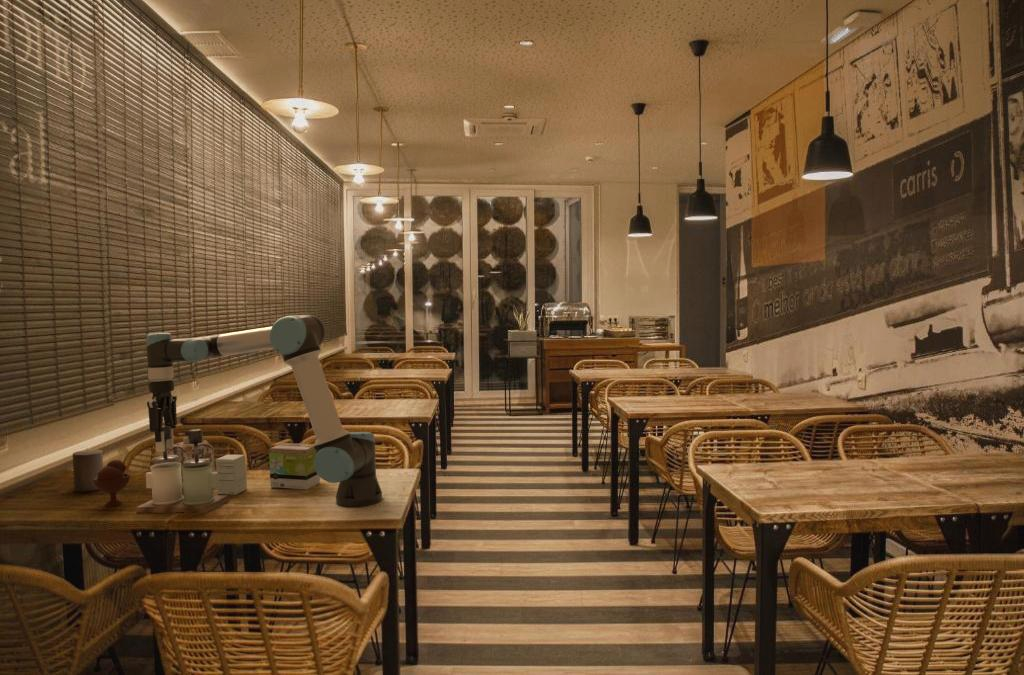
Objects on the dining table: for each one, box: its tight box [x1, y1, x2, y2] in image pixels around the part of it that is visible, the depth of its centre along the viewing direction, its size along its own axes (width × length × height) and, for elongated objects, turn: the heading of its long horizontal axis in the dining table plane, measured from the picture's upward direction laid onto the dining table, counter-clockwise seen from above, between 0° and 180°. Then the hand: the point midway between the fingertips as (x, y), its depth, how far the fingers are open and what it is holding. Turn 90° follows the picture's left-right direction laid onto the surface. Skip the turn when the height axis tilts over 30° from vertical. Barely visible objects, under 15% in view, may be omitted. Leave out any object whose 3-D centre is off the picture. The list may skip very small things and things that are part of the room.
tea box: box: [268, 442, 321, 491], centre depth 266 cm, size 15×10×15 cm
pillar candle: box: [72, 449, 104, 493], centre depth 269 cm, size 10×10×15 cm
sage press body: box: [181, 463, 219, 505], centre depth 241 cm, size 12×10×12 cm
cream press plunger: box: [151, 425, 179, 464], centre depth 242 cm, size 8×8×11 cm
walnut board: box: [136, 494, 229, 514], centre depth 243 cm, size 24×14×2 cm, turn 84°
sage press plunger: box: [184, 428, 210, 467], centre depth 241 cm, size 8×8×11 cm
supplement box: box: [215, 454, 248, 496], centre depth 259 cm, size 7×7×13 cm
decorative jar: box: [167, 436, 216, 490], centre depth 270 cm, size 12×12×18 cm
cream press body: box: [145, 462, 184, 505], centre depth 243 cm, size 12×10×12 cm
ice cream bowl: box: [93, 459, 131, 508], centre depth 247 cm, size 11×11×15 cm
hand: (164, 449), depth 242 cm, fingers closed on cream press plunger, 4 cm apart
